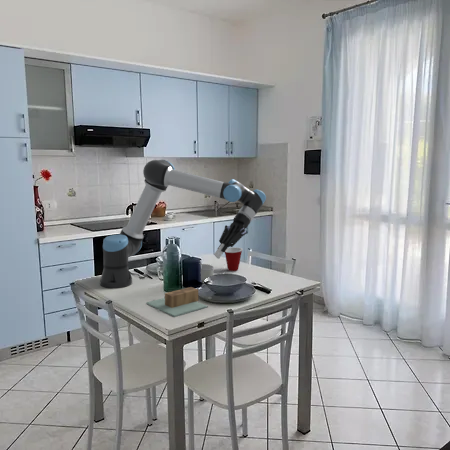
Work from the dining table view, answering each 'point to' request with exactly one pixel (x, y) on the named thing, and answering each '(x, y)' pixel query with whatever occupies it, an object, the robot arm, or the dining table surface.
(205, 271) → the teacup
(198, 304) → the rubber mat
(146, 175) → the robot arm
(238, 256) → the plastic cup
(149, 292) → the dining table surface
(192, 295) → the walnut block
